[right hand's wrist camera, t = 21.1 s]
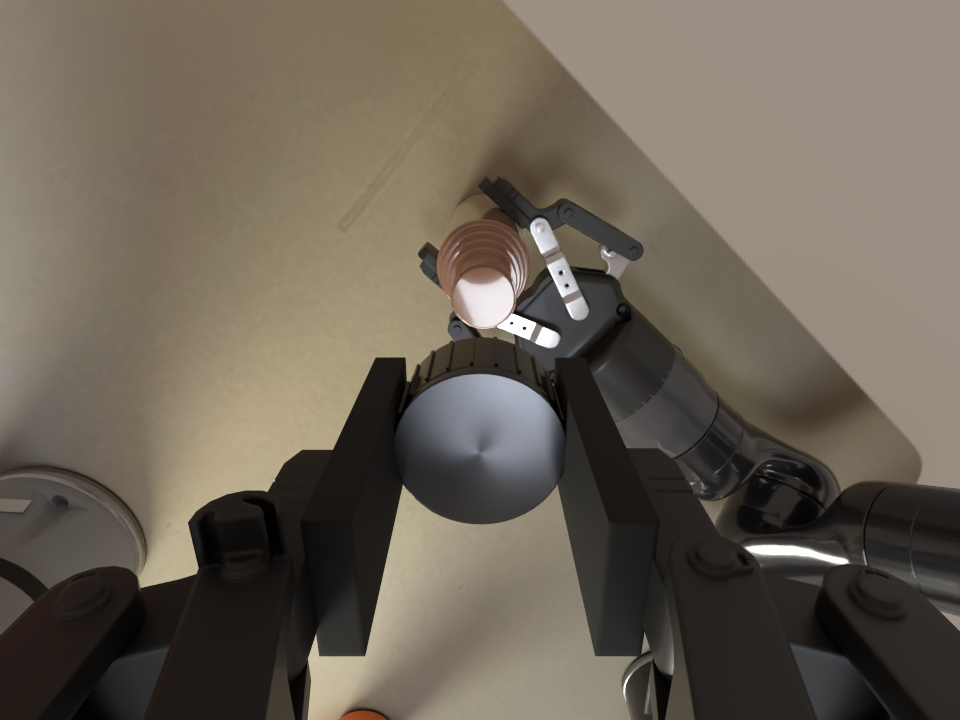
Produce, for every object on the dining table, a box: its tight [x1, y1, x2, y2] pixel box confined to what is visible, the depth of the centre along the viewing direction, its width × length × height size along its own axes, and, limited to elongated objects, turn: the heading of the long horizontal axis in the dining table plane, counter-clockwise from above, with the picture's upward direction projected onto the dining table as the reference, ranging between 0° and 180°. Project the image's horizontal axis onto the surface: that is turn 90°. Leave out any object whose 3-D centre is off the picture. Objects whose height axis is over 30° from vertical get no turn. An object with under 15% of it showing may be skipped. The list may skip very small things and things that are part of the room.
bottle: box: [437, 194, 530, 329], centre depth 33 cm, size 5×5×19 cm
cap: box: [394, 336, 566, 524], centre depth 14 cm, size 4×4×2 cm
